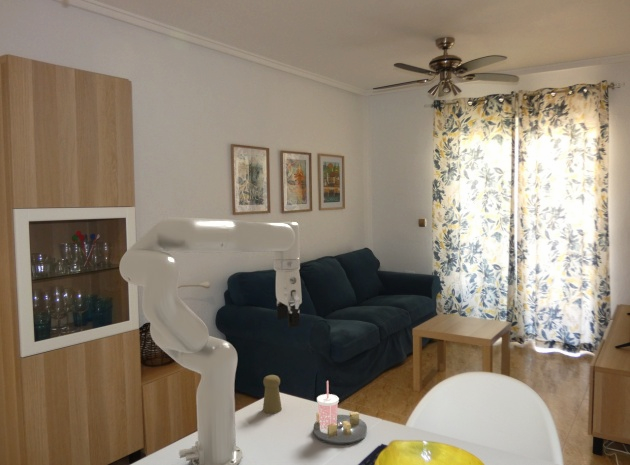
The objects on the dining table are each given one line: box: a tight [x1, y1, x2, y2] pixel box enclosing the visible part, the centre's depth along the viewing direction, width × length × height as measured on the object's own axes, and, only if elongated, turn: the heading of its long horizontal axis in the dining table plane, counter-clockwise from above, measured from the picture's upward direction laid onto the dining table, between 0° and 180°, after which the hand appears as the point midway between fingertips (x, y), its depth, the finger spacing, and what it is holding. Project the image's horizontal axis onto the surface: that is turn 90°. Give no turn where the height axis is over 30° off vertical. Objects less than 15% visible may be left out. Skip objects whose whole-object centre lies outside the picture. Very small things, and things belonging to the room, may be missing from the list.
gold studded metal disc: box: [313, 411, 368, 446], centre depth 144 cm, size 15×15×5 cm
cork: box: [262, 374, 283, 415], centre depth 159 cm, size 6×6×11 cm
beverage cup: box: [316, 380, 340, 433], centre depth 142 cm, size 6×6×14 cm
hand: (287, 322), depth 148 cm, fingers open, 9 cm apart
